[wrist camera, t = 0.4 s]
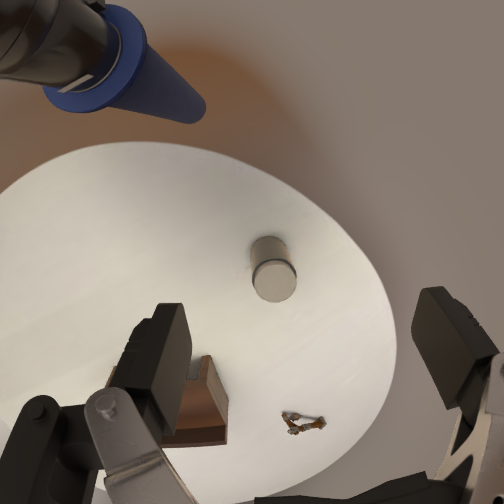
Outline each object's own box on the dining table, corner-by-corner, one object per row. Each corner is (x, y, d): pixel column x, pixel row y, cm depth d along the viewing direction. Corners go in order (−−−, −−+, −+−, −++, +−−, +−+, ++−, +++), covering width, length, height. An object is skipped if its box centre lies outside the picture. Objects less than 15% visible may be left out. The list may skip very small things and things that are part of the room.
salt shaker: (246, 240, 36) (247, 268, 29) (283, 232, 36) (294, 258, 28) (254, 274, 38) (257, 308, 30) (290, 266, 37) (301, 298, 30)
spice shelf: (114, 366, 43) (95, 406, 34) (210, 354, 42) (204, 401, 33) (140, 408, 46) (128, 447, 38) (228, 400, 45) (227, 444, 37)
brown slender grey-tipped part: (280, 411, 45) (293, 432, 42) (314, 406, 50) (327, 424, 46) (275, 417, 46) (287, 438, 42) (309, 412, 50) (321, 430, 47)
